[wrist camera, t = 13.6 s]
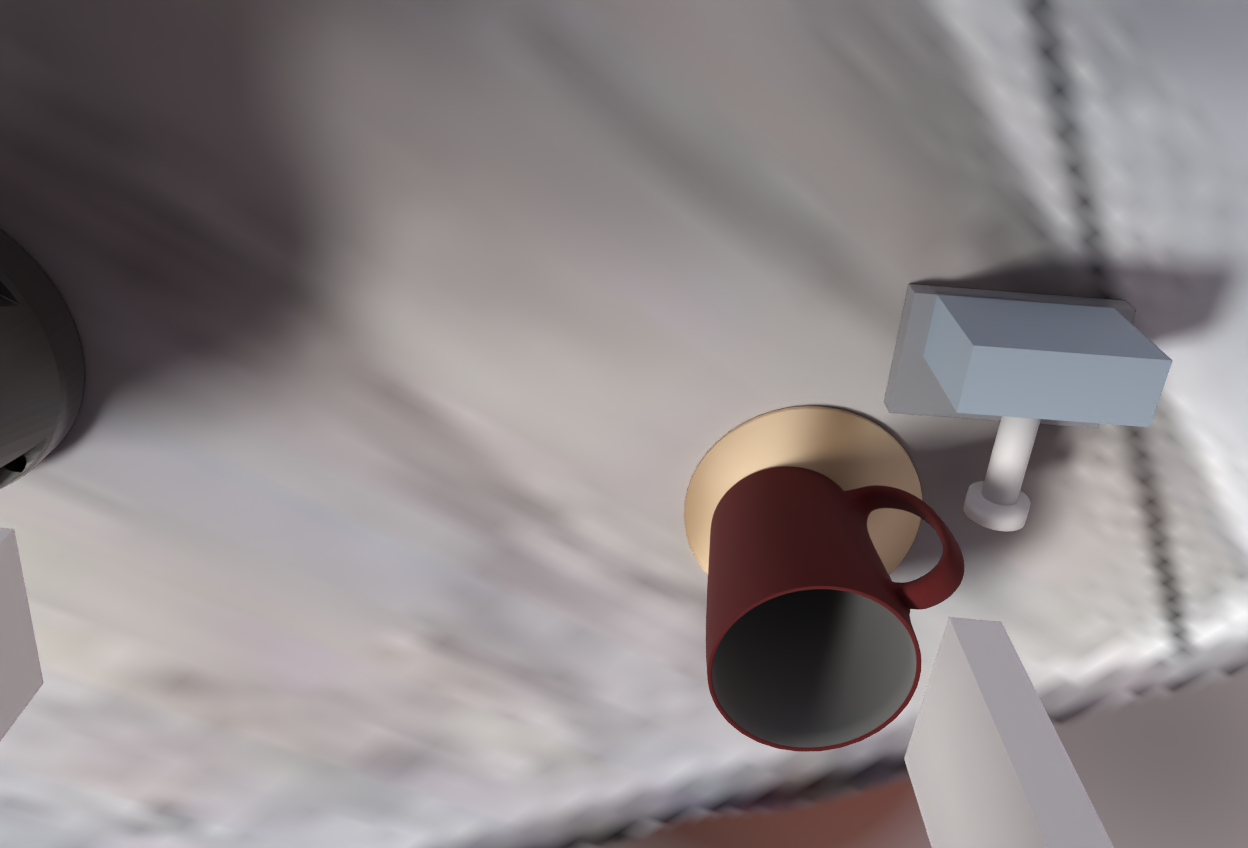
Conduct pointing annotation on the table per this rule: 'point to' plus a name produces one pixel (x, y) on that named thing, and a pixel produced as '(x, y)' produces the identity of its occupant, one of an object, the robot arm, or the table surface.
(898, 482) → the coaster
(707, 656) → the mug
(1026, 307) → the vise
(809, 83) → the table surface
